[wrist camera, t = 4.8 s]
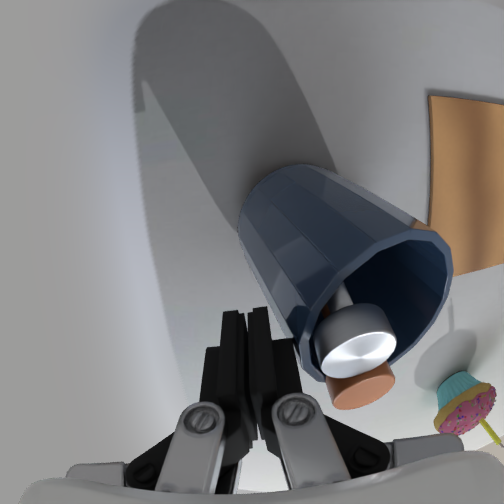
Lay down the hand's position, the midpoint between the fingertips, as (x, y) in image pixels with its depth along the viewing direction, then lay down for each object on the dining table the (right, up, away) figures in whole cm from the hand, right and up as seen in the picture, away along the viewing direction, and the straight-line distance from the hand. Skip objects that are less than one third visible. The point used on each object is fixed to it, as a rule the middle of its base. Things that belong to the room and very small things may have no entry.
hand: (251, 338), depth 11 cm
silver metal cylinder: (+3, +6, +5) cm, 8 cm away
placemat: (+32, +10, +6) cm, 34 cm away
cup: (+3, +5, +7) cm, 9 cm away
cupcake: (+25, -13, +18) cm, 33 cm away
